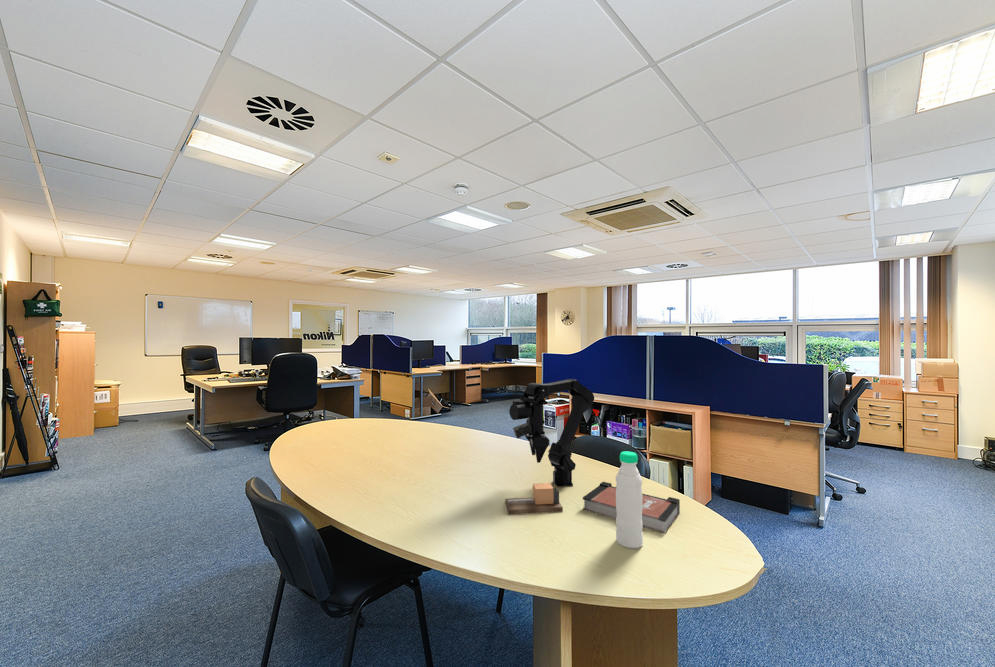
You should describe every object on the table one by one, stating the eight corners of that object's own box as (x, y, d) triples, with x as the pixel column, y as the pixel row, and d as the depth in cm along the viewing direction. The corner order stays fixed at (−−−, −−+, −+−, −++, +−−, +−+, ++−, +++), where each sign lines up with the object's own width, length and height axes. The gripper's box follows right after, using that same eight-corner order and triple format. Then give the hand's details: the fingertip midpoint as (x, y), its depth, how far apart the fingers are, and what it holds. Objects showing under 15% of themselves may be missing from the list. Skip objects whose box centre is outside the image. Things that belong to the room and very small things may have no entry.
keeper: (549, 498, 136) (549, 482, 136) (553, 504, 131) (553, 488, 131) (532, 498, 135) (532, 483, 136) (535, 504, 130) (535, 489, 131)
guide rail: (556, 499, 136) (556, 487, 136) (559, 504, 132) (559, 492, 132) (507, 501, 134) (507, 489, 134) (509, 506, 130) (508, 494, 130)
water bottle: (629, 552, 105) (628, 458, 105) (610, 540, 111) (610, 451, 111) (648, 545, 108) (647, 454, 108) (628, 534, 114) (628, 448, 115)
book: (581, 511, 130) (581, 496, 131) (603, 495, 144) (603, 481, 144) (664, 536, 114) (664, 518, 114) (679, 514, 128) (679, 499, 128)
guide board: (555, 500, 138) (555, 496, 138) (562, 511, 129) (562, 507, 129) (505, 503, 136) (505, 498, 136) (508, 514, 127) (508, 509, 127)
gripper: (511, 412, 156) (511, 452, 156) (518, 422, 137) (518, 467, 137) (538, 412, 157) (538, 451, 157) (549, 422, 139) (550, 466, 138)
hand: (535, 458), depth 147 cm, fingers open, 9 cm apart
